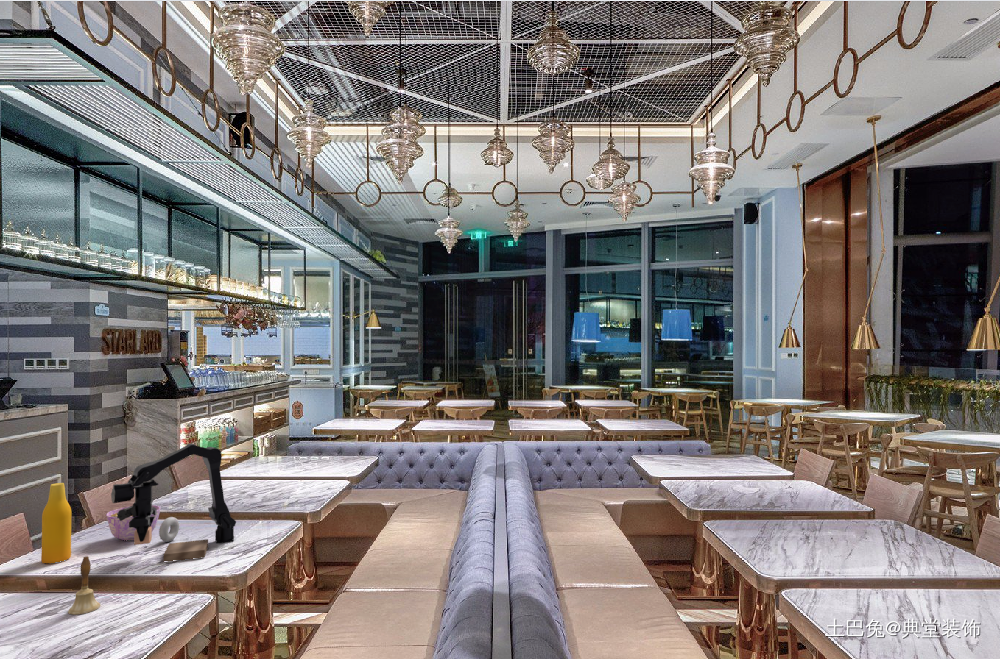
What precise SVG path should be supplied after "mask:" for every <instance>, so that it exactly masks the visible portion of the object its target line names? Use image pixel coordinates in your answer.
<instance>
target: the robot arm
mask: <svg viewBox="0 0 1000 659" xmlns="http://www.w3.org/2000/svg"><path fill="white" fill-rule="evenodd" d="M192 455H194V456H198V457H202V460H203V462H204V465H205V467H206V469H207V471H208V472H207V473H208V478H209V486H210V492H211V501H212V504H211V506H210V507H207V509H208V518H210V519H211V521H213V522H215V525H217V526H216V529H215V532H214V533H215V535H214V536H215V542H216V544H220V543H222V542H223V543H229V542H230V541H232V542H234V540H235V530H234V529H235V526H236V523H237V520H235V519H234V518H233V517H231V512H230V510H229V507H228V505H227V503H226V501H225V497H224V489H223V482H222V476H221V465H222V456H223V455H222V451H221V450H220V449H219V448H217V447H213V446H207V447H204V446H200V445H196V444H193V443H188V444H186V445H185V446H183V447H181V448H179V449H177V450H175V451H173V452H171V453H169V454H167V455H165V456H163V457H161V458H160V459H158V460H157V459H156V460H153V461H150V462H146V463H144V464H140V465H138V466H136V467H135V469H134V471H133V475H132V476H131V477H130V479H129V480H128V481H127V482H125V483H121V484H120V483H119V484H118V483H117V484H116V483H115V484H113V485H112V490H111V493H110V496H111V498H110V500H111V503H112V504H117V503H125V502H130V501H132V499H134V503H132V505H131V506H127V507H128V508H124V507H123V508H124V509H122V510H120V511H119V512H118V513H117V518H119V520H120V521H122V520H124V519H125V518H128V517H130V516H132V517H134V518H133V519H132V520H131V521H130V522H129V527H130V528H131V527H133V528H135V529H136V530H137V533H138V536H139V540H140V542H142V541H144V538H145V536H146V533H147V531H148V528H149V527H151V525H152V522H153V520H154V518H155V516H153V517H151V514H154V515H156V514H157V509H156V508H155V507H152V505H153V503H154V498H153V487H154V486H155V487H156V486H158V485H159V483H158V482H156V481H155V479H154V478H155V477H157V476H158V475H159V474H160V473H161V472H162V471H163V470H165V469H167V468H168V467H171V466H173V465H175V464H177V463H179V462H181V461H182V460H185V459H187V458H189V457H190V456H192ZM223 543H222V544H223Z"/></svg>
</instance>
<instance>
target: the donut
mask: <svg viewBox="0 0 1000 659" xmlns="http://www.w3.org/2000/svg"><path fill="white" fill-rule="evenodd" d="M158 530H159V531H158V536H159V538H160V540H161V541H162V542H166V543H168V542H172V541H173V540H175V538H176V537H177V535H178V534H179V530H180V523H179V520H178V519H177V518H176V517H173V516H169V517H167V518H165V519H164V520H163V521H162V522H161V524H160V527H159V529H158Z"/></svg>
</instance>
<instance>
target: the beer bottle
mask: <svg viewBox="0 0 1000 659" xmlns="http://www.w3.org/2000/svg"><path fill="white" fill-rule="evenodd" d="M72 514H73V513H72V507H71V505H70V504H69V502H68V500H67V497H66V487H65V483H64V482H57V483H52V484H50V488H49V492H48V501H47V502H46V505H45V506H44V509H43V511H42V515H41V555H40V560H41V563H42V564H43V563H55V562H60V561H64V560H66V561H68V560H70V559H71V557H72ZM69 558H70V559H69ZM67 559H68V560H67ZM64 562H65V561H64ZM60 563H61V562H60ZM55 564H56V563H55Z"/></svg>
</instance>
